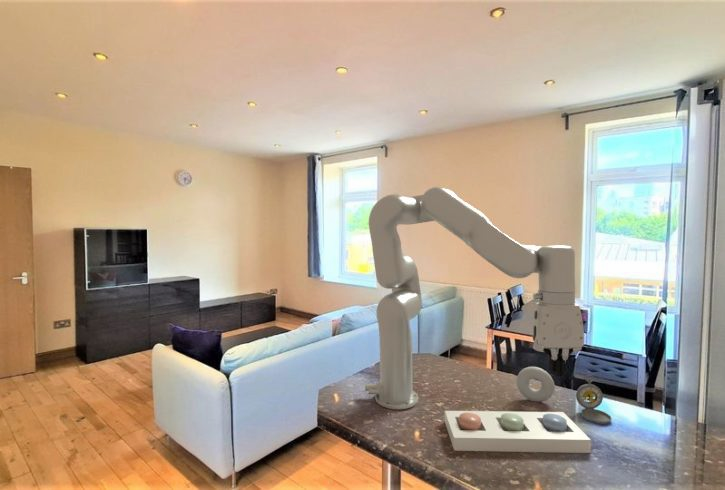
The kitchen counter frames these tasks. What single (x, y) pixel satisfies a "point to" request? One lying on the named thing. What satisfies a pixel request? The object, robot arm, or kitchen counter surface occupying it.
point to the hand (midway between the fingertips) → (557, 374)
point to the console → (516, 434)
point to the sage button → (511, 422)
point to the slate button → (554, 423)
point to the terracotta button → (470, 421)
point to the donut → (535, 394)
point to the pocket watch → (591, 403)
